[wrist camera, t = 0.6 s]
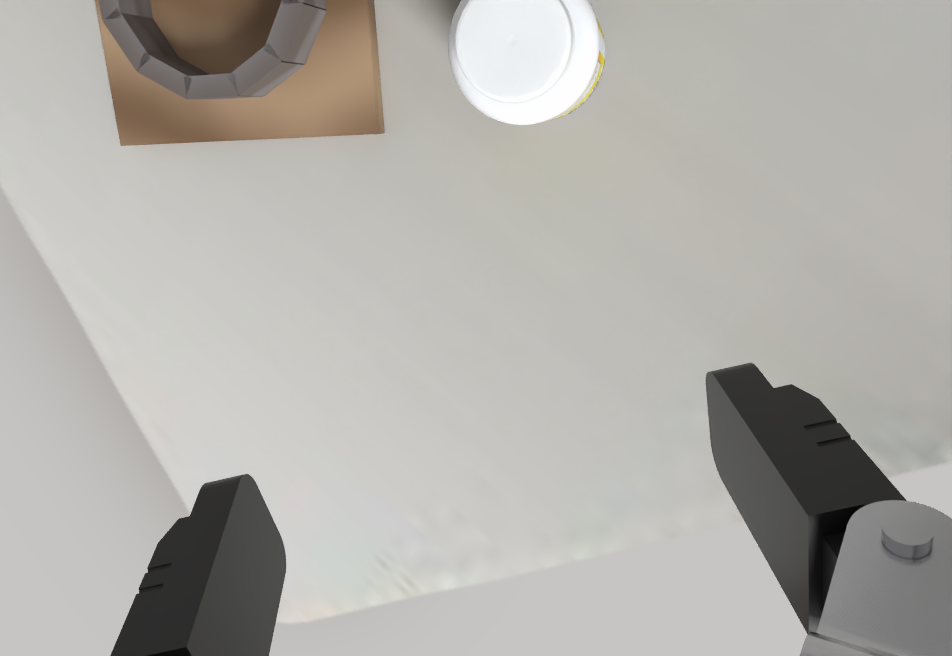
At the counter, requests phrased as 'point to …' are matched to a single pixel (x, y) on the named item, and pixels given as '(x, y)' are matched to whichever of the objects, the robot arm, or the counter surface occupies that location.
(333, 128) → the ring collar
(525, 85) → the supplement bottle
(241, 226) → the counter surface
